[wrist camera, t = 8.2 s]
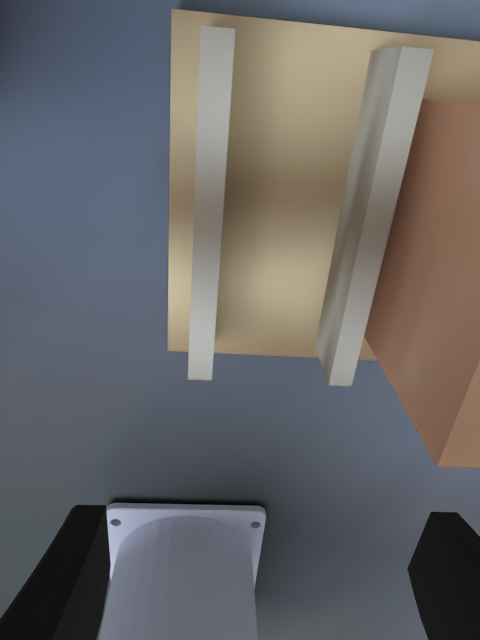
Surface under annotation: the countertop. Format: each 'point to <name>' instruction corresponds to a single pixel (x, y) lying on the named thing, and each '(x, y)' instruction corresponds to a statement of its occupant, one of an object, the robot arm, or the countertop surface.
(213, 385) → the countertop surface
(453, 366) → the upright peach slab
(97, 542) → the robot arm
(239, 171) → the dish rack
